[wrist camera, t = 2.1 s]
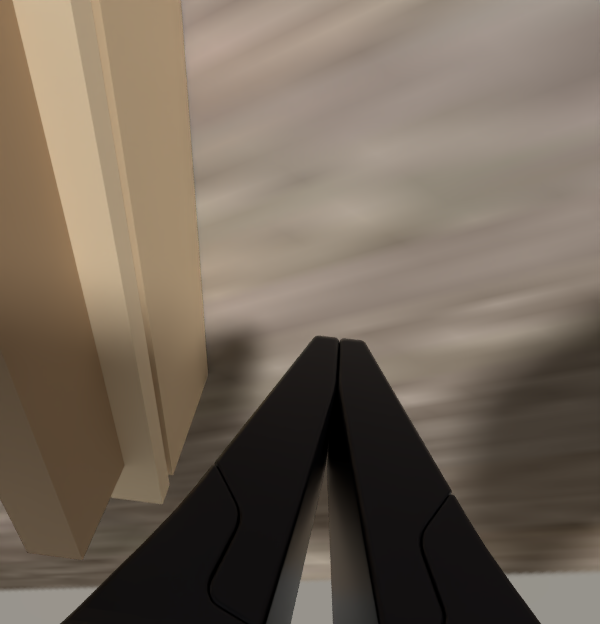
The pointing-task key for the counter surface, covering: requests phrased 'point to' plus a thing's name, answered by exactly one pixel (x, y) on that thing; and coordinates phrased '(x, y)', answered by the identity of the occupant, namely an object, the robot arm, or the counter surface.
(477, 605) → the robot arm
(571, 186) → the counter surface
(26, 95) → the lid
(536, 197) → the counter surface
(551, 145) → the counter surface
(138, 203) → the box
